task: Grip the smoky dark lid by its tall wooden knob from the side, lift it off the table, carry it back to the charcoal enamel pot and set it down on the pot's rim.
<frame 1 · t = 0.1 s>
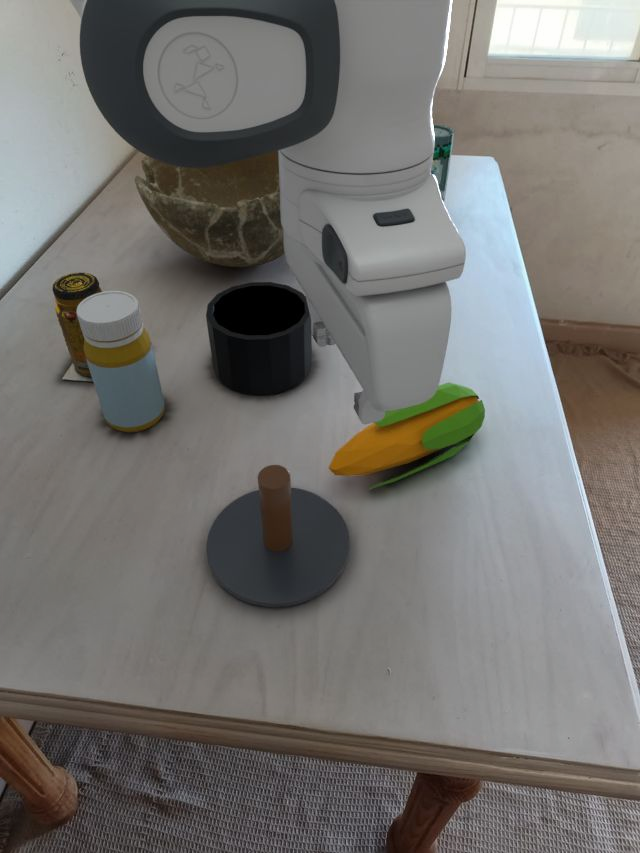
hand: (345, 376, 47), 21 cm above the table, tool pointing down, fingers open, 8 cm apart
corn: (406, 460, 69), on the table
bottle: (136, 416, 75), on the table
condiment: (105, 366, 82), on the table
lid: (278, 543, 60), point 1 cm above the table
can: (424, 218, 114), on the table
pot: (263, 364, 82), on the table
bowl: (236, 258, 103), on the table
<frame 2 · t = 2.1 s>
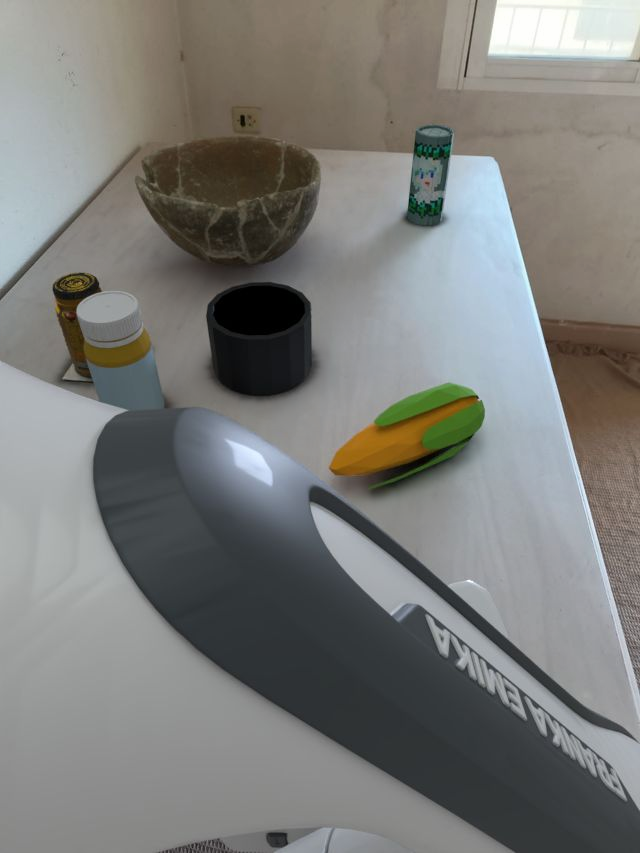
hand: (311, 566, 43), 14 cm above the table, tool horizontal, fingers open, 8 cm apart
nothing on the table moved.
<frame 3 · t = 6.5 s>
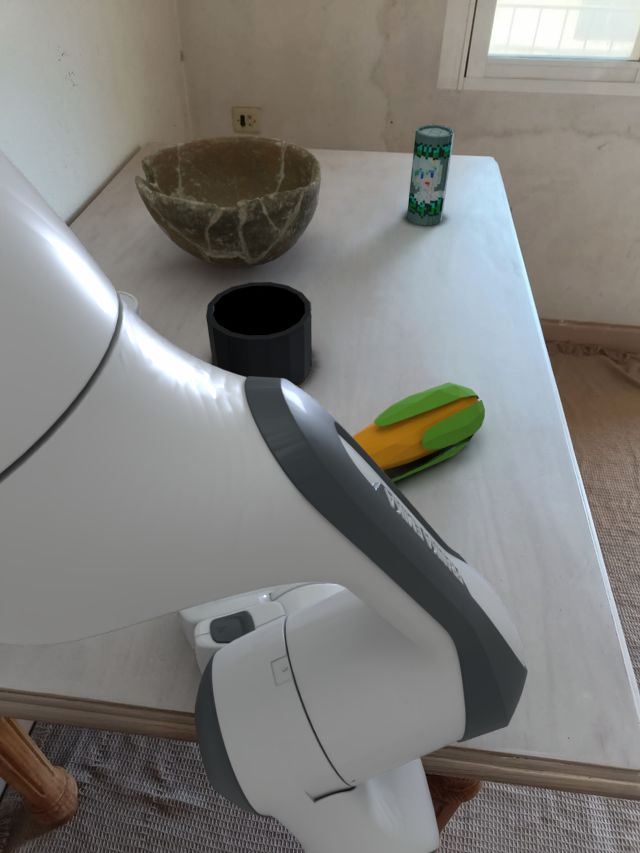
hand: (273, 500, 57), 6 cm above the table, tool horizontal, fingers closed on lid, 3 cm apart
lid: (278, 543, 60), point 1 cm above the table, touching gripper
everything else where it was.
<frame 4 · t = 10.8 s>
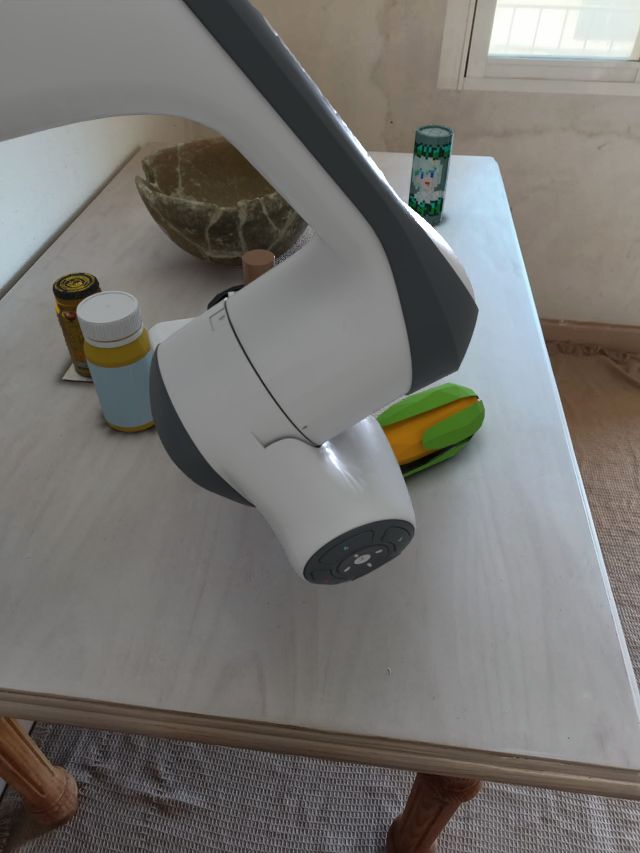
hand: (258, 294, 57), 20 cm above the table, tool horizontal, fingers closed on lid, 3 cm apart
lid: (264, 349, 60), point 15 cm above the table, touching gripper
everything else where it was.
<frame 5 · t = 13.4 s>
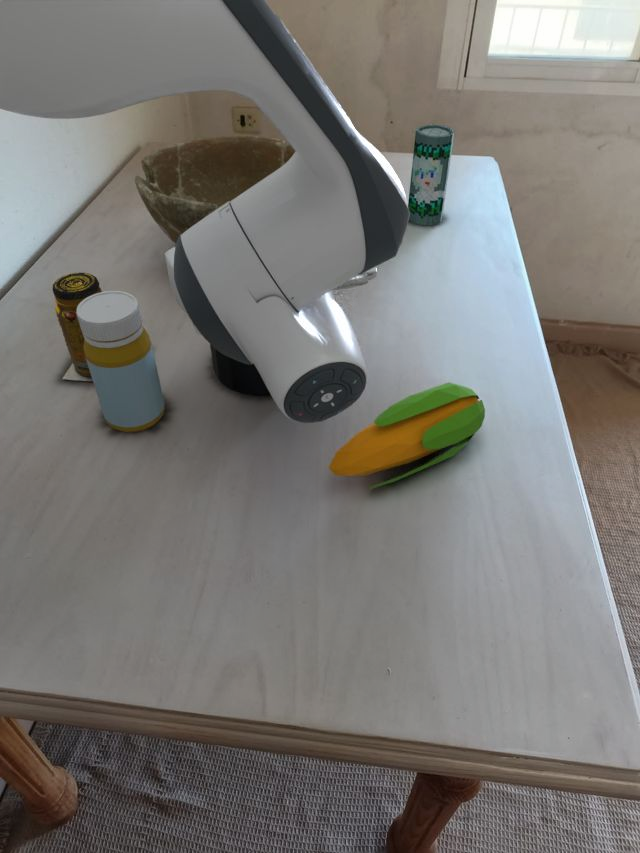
hand: (253, 231, 70), 18 cm above the table, tool horizontal, fingers closed on lid, 3 cm apart
lid: (258, 278, 73), point 13 cm above the table, touching gripper
everything else where it was.
when the fingers open (14 cm above the table, at t = 14.9 s): lid stays where it is, resting on pot.
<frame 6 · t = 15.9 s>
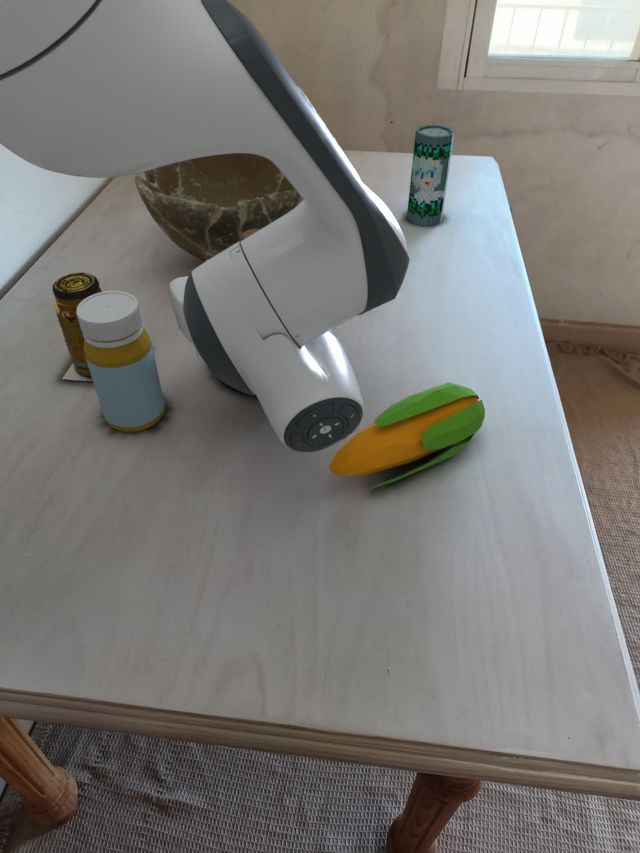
hand: (253, 259, 72), 15 cm above the table, tool horizontal, fingers open, 8 cm apart
lid: (260, 309, 76), point 8 cm above the table, touching pot
everything else where it was.
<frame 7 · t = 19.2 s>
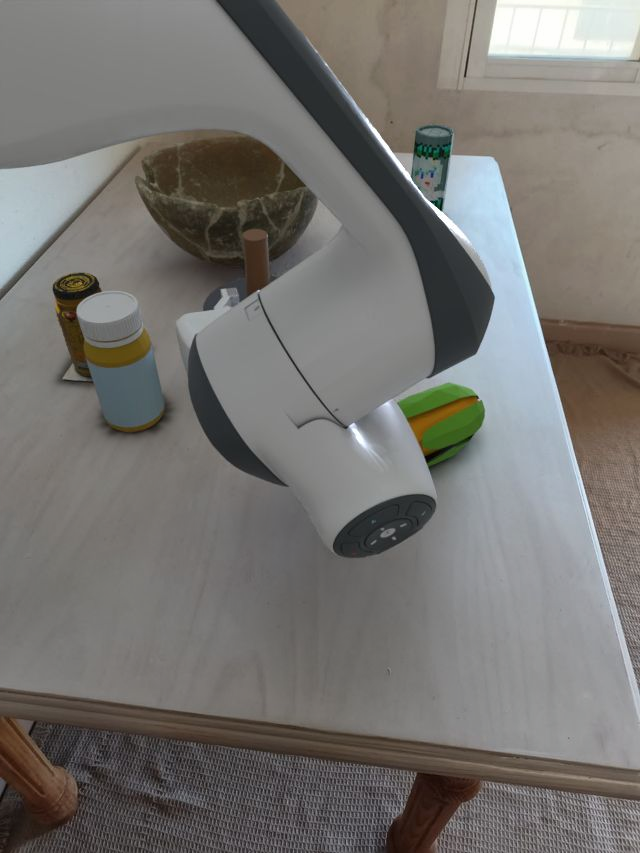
hand: (278, 287, 59), 19 cm above the table, tool horizontal, fingers open, 8 cm apart
nothing on the table moved.
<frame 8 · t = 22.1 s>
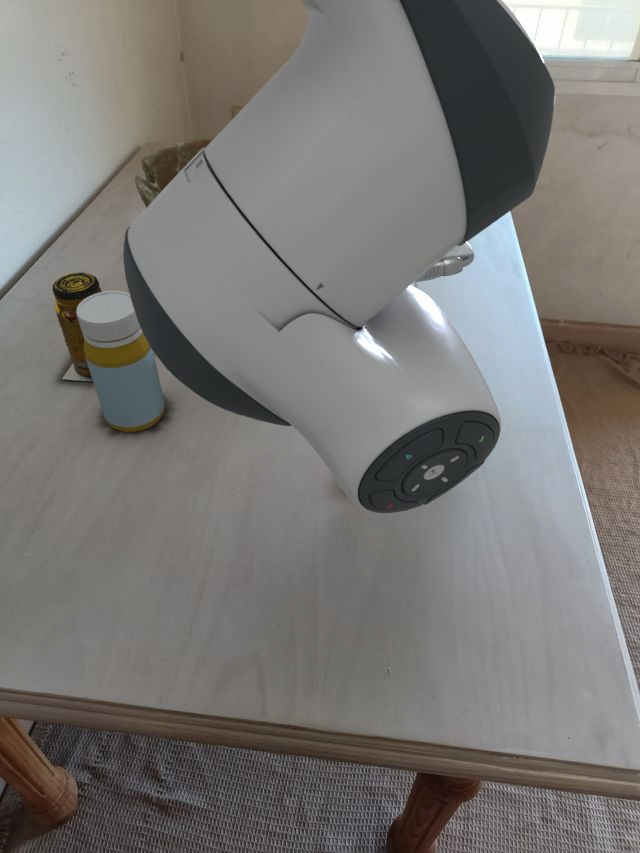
hand: (279, 197, 48), 30 cm above the table, tool horizontal, fingers open, 8 cm apart
nothing on the table moved.
at the end: lid 0.1 cm off-centre on the pot, point 8.5 cm above the pot's base; lid tilted 0°; the gripper is holding nothing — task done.
